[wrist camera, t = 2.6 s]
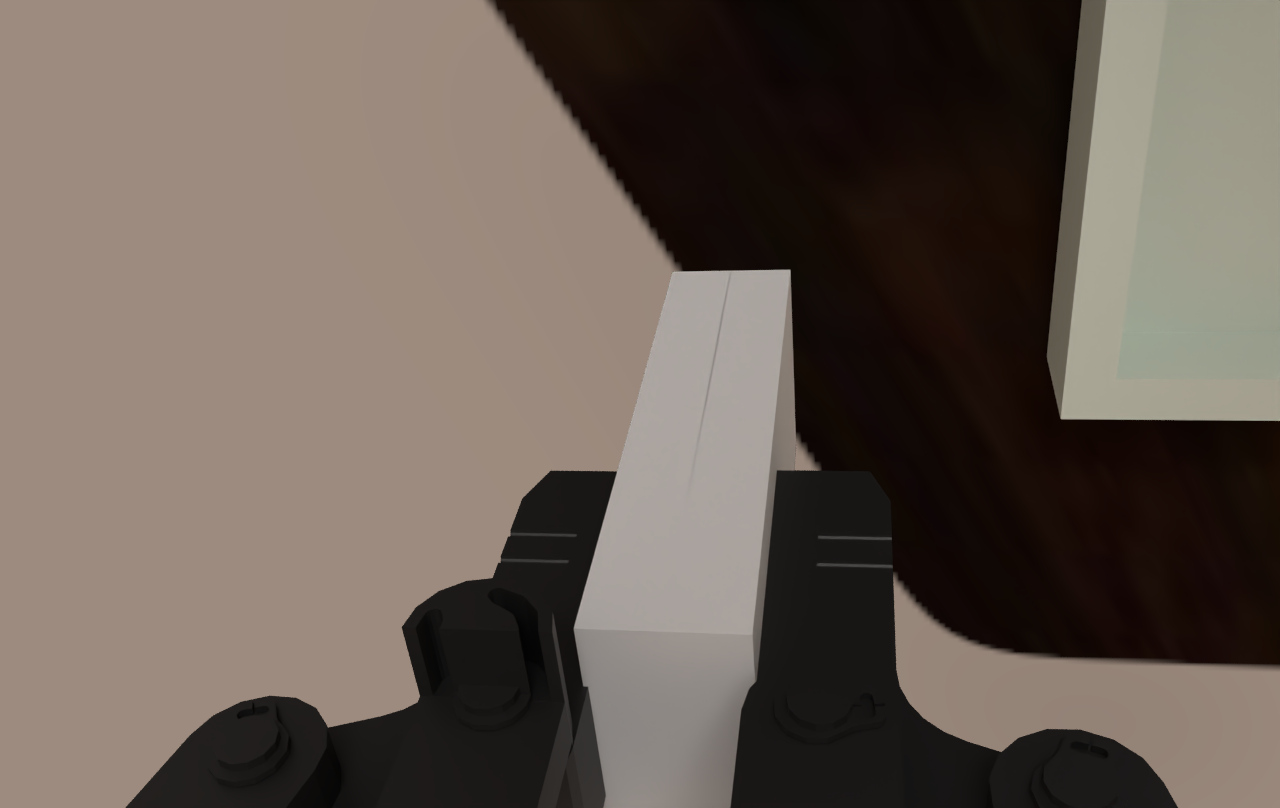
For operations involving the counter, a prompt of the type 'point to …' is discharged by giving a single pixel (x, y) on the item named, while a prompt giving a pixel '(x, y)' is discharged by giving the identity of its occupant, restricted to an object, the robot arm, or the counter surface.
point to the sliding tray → (1171, 215)
